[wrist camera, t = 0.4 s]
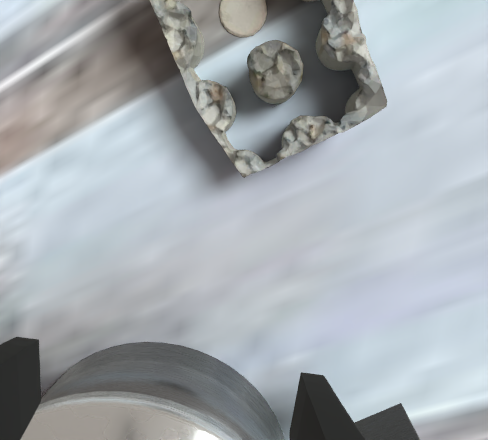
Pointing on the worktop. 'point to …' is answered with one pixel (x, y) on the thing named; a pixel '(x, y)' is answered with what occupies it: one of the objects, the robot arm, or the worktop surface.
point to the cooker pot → (174, 384)
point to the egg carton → (274, 72)
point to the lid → (164, 420)
